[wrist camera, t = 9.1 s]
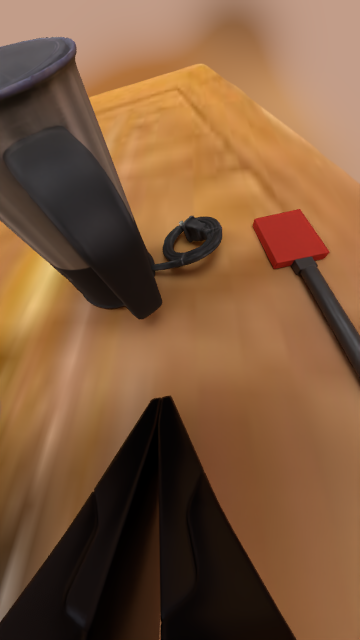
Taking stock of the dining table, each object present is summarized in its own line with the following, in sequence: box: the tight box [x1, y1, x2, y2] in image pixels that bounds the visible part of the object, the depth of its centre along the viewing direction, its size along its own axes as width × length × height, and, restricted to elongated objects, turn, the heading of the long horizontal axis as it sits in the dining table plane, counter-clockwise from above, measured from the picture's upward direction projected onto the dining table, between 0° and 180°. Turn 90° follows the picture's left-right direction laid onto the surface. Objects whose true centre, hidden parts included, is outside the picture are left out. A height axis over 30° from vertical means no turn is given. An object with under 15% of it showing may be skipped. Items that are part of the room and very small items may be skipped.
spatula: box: [253, 209, 360, 378], centre depth 17 cm, size 21×6×1 cm, turn 10°
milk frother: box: [0, 37, 222, 319], centre depth 15 cm, size 14×16×15 cm
